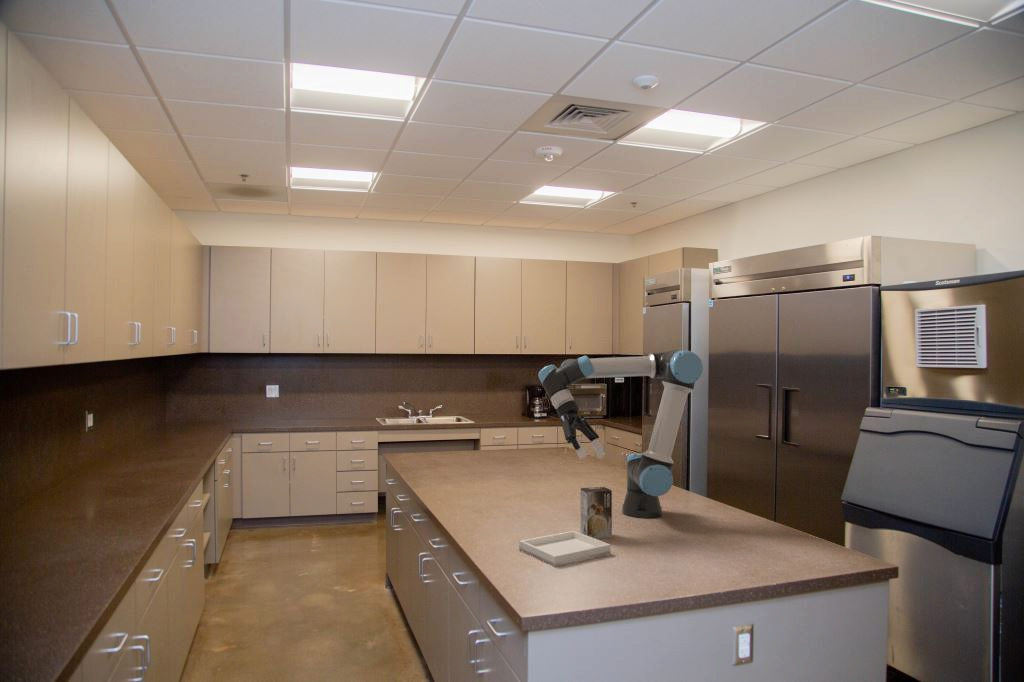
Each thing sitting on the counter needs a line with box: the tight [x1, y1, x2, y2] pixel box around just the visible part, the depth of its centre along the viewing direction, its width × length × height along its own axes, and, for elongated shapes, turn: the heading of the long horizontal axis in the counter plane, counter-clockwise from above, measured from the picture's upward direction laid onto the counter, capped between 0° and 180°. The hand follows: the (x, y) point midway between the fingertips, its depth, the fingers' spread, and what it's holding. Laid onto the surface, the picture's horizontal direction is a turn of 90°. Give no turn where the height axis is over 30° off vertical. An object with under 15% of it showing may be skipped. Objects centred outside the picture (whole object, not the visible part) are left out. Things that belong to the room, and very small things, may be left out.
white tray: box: [518, 530, 612, 568], centre depth 205 cm, size 18×22×3 cm
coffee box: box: [580, 486, 613, 539], centre depth 222 cm, size 9×6×16 cm
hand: (593, 457), depth 225 cm, fingers open, 13 cm apart
